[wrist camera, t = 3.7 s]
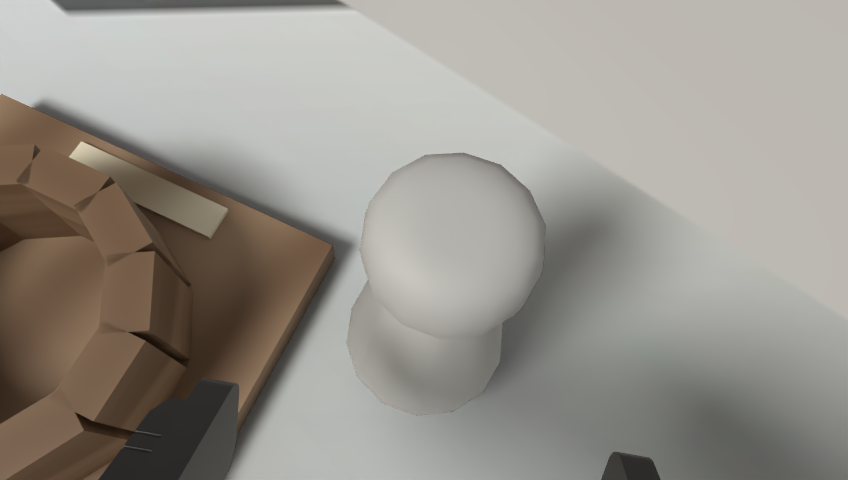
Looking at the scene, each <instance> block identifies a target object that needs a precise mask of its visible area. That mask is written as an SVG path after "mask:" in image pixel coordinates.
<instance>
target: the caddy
mask: <svg viewBox="0 0 848 480" xmlns="http://www.w3.org/2000/svg"><path fill="white" fill-rule="evenodd" d="M334 259H335V256H334V251H333V245H331V244H329V243H327V242H325V241H323V240H320V239H318V238H316V237H314V236H312V235H309V234H307V233H305V232H303V231H301V230H298V229H296V228H294V227H292V226H290V225H287V224H285V223H283V222H281V221H279V220H277V219H274V218H272V217H270V216H268V215H266V214H263V213H261V212H259V211H257V210H255V209H252V208H250V207H248V206H246V205H244V204H241V203H239V202H237V201H235V200H233V199H231V198H228V197H226V196H224V195H222V194H220V193H217V192H215V191H213V190H211V189H209V188H206V187H204V186H202V185H200V184H198V183H195V182H193V181H191V180H189V179H187V178H185V177H182V176H180V175H178V174H176V173H174V172H171V171H169V170H167V169H165V168H163V167H160V166H158V165H156V164H154V163H152V162H149V161H147V160H145V159H143V158H141V157H139V156H136V155H134V154H132V153H130V152H128V151H125V150H123V149H121V148H119V147H117V146H114V145H112V144H110V143H108V142H106V141H103V140H101V139H99V138H97V137H95V136H93V135H90V134H88V133H86V132H84V131H82V130H79V129H77V128H75V127H73V126H71V125H68V124H66V123H64V122H62V121H60V120H57V119H55V118H53V117H51V116H49V115H47V114H44V113H42V112H40V111H38V110H36V109H33V108H31V107H29V106H27V105H25V104H22V103H20V102H18V101H16V100H14V99H11V98H9V97H7V96H5V95H3V94H1V95H0V480H98V479H99V478H100V477H101V475H102V474H103V473H104V471H105V470H106V469H107V467H108V466H109V465H110V463H111V462H112V461H113V459H114V458H115V457H116V455H117V454H118V453H119V451H120V450H121V448H122V449H123V448H124V444H125V443H126V442H127V440H128V439H129V438H130V436H131V435H132V434H133V433H135V431H136V428H137V427H138V426H139V424H140V423H141V422H142V420H143V419H144V418H145V416H146V415H147V414H148V412H149V411H151V410H152V409H154V408H155V407H157V406H158V405H160V404H161V403H163V402H164V401H166V400H168V399H169V398H171V397H172V398H178V399H184V400H186V399H187V398H188V396H189V395H190V394H191V392H192V391H193V389H194V388H195V386H196V385H197V383H198V382H199V380H200V379H201V378H209V379H215V380H220V381H226V382H232V383H237V384H238V385H239V404H238V421H237V434H238V432H239V430H240V428H241V427H242V425H243V423H244V421H245V419H246V418H247V416H248V414H249V412H250V410H251V408H252V407H253V405H254V403H255V401H256V399H257V398H258V396H259V394H260V392H261V390H262V389H263V387H264V385H265V383H266V381H267V380H268V378H269V376H270V374H271V372H272V371H273V369H274V367H275V365H276V363H277V362H278V360H279V358H280V356H281V354H282V352H283V351H284V349H285V347H286V345H287V343H288V342H289V340H290V338H291V336H292V334H293V333H294V331H295V329H296V327H297V325H298V324H299V322H300V320H301V318H302V316H303V315H304V313H305V311H306V309H307V307H308V306H309V304H310V302H311V300H312V298H313V296H314V295H315V293H316V291H317V289H318V287H319V286H320V284H321V282H322V280H323V278H324V277H325V275H326V273H327V271H328V269H329V268H330V266H331V264H332V262H333V260H334Z"/></svg>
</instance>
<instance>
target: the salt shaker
mask: <svg viewBox="0 0 848 480" xmlns="http://www.w3.org/2000/svg"><path fill="white" fill-rule="evenodd" d="M545 229H546V224H545V222H544V220H543V218H542V216H541V214H540V212H539V210H538V207H537V205H536V203H535V201H534V199H533V197H532V195H531V192H530V190H528V189H527V188H526V187H525V186H524V185H523V184H522V183H521V182H519V181H518V180H517V179H516V178H515V177H514V176H513V175H512V174H511V173H509V172H508V171H507V170H506V169H505V168H504V167H503V166H502V165H500V164H497V163H494V162H491V161H488V160H484V159H481V158H478V157H475V156H472V155H469V154H466V153H452V154H434V155H424V156H423V157H421V158H419V159H417V160H415V161H413V162H411V163H410V164H408V165H406V166H404V167H402V168H400V169H398V170H396V171H395V172H393V173H392V174H391V175H390V176H389V178H388V179H387V180H386V182H385V183H384V184H383V185H382V187H381V188H380V189H379V191H378V192H377V193H376V195H375V196H374V197H373V199H372V200H371V201H370V203H369V205H368V208H367V210H366V213H365V220H364V226H363V233H362V240H361V247H360V253H361V258H362V261H363V265H364V268H365V271H366V274H367V277H368V281H367V283H366V284H365V286H364V288H363V290H362V291H361V293H360V295H359V297H358V298H357V300H356V302H355V304H354V305H353V307H352V310H351V317H350V324H349V330H348V337H347V346H348V349H349V352H350V356H351V359H352V362H353V366H354V369H355V372H356V376H357V377H358V378H359V379H360V380H361V381H362V382H363V384H364V385H365V386H366V387H367V388H368V389H369V390H370V391H371V392H372V393H373V394H374V395H375V396H376V397H377V398H378V399H379V400H380V401H381V402H382V403H384V404H386V405H389V406H392V407H394V408H397V409H400V410H402V411H405V412H408V413H411V414H413V415H416V416H418V415H427V414H436V413H445V412H453V411H454V410H456V409H457V408H459V407H461V406H462V405H464V404H465V403H467V402H468V401H470V400H471V399H473V398H474V397H476V396H478V395H479V394H481V393H482V392H483V391H484V389H485V387H486V386H487V384H488V382H489V380H490V379H491V377H492V375H493V373H494V372H495V370H496V368H497V366H498V365H499V363H500V355H501V342H502V329H503V322H504V321H506V320H507V319H509V318H510V317H512V316H514V315H515V314H516V313H517V312H518V311H519V310H520V309H522V307H523V306H524V304H525V302H526V300H527V298H528V297H529V295H530V293H531V291H532V290H533V288H534V286H535V284H536V283H537V281H538V279H539V277H540V276H541V274H542V269H543V264H544V249H545Z"/></svg>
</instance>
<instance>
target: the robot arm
mask: <svg viewBox="0 0 848 480" xmlns="http://www.w3.org/2000/svg"><path fill="white" fill-rule="evenodd" d="M238 404H239V385H238V384H237V383H232V382H226V381H220V380H215V379H209V378H201V379H200V380H199V382H198V383H197V385H196V386H195V388H194V389H193V391H192V392H191V394H190V395H189V396H188V398H187V399H186V400H184V399H178V398H172V397H171V398H169V399H168V400H166V401H164V402H163V403H161V404H160V405H158V406H157V407H155V408H154V409H152V410H151V411H149V412H148V414H147V415H146V416H145V418H144V419H143V420H142V422H141V423H140V424H139V426H138V427H137V428H136V431H135V433H133V434H132V435H131V436H130V438H129V439H128V440H127V442H126V443H125V444H124V448H123V449H122V448H121V450H120V451H119V453H118V454H117V455H116V457H115V458H114V459H113V461H112V462H111V463H110V465H109V466H108V467H107V469H106V470H105V471H104V473H103V474H102V475H101V477H100V478H99V479H98V480H224V478H225V476H226V474H227V472H228V470H229V468H230V465H231V462H232V459H233V455H234V451H235V446H236V437H237V421H238ZM601 480H660V478H659V475H658V472H657V470H656V467H655V465H654V463H653V461H652V459H650V458H648V457H642V456H637V455H631V454H625V453H620V452H613V453H612V454H611V456H610V457H609V460H608V463H607V465H606V468H605V471H604V474H603V477H602V479H601Z"/></svg>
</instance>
